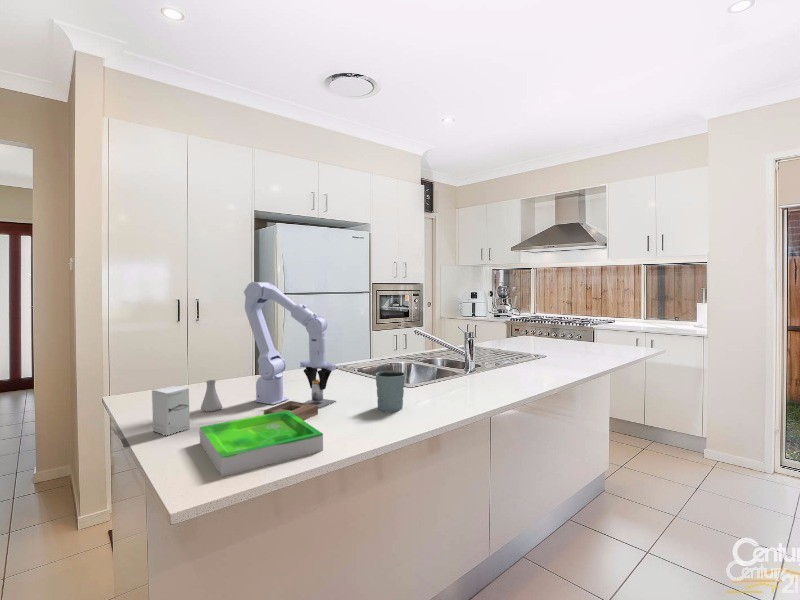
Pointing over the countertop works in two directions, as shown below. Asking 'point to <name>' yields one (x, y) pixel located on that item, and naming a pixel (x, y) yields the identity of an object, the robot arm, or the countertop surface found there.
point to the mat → (321, 402)
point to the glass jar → (316, 391)
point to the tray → (258, 441)
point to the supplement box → (170, 409)
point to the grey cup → (390, 390)
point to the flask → (211, 398)
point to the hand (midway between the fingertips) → (318, 388)
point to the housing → (295, 409)
